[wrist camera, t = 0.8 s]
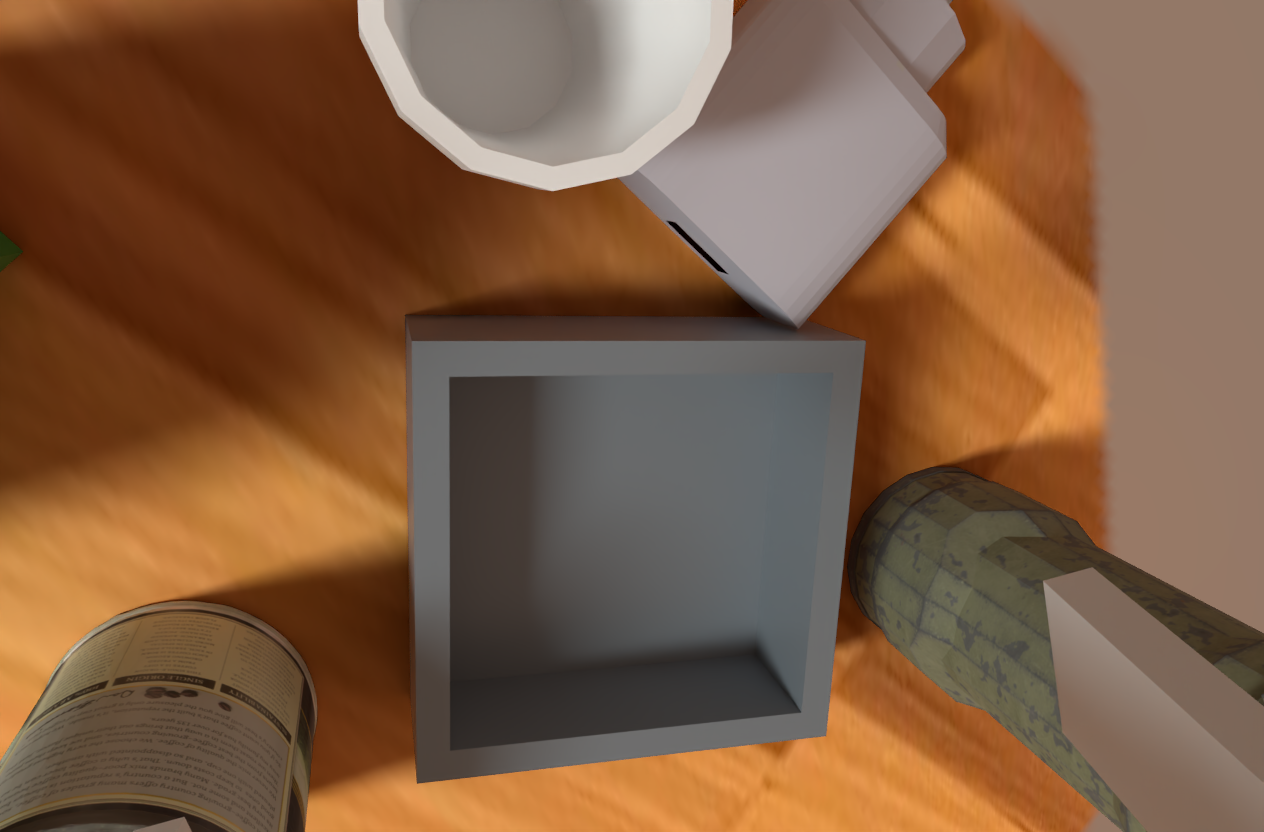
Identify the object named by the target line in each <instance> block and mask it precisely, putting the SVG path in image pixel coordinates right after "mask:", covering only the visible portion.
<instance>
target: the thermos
mask: <svg viewBox="0 0 1264 832" xmlns="http://www.w3.org/2000/svg"><path fill="white" fill-rule="evenodd" d="M1091 567H1093V568H1094V569H1095V570H1096V571H1098V572H1099V573H1100V574H1101V575H1102V576H1104V577H1105V578H1106V579H1107V580H1109V581H1110V582H1111V583H1112V584H1114V585H1115V586H1116V587H1117V588H1119V589H1120V590H1121V591H1122V592H1123V593H1125V594H1126V595H1127V596H1128V597H1130V598H1131V599H1132V600H1133V601H1135V602H1136V603H1137V604H1138V605H1139V606H1141V607H1142V608H1143V609H1144V610H1146V611H1147V612H1148V613H1149V614H1151V615H1152V616H1153V617H1154V618H1155V619H1157V620H1158V621H1159V622H1160V623H1162V624H1163V625H1164V626H1165V627H1167V628H1168V629H1169V630H1170V631H1171V632H1173V633H1174V634H1175V635H1176V636H1178V637H1179V638H1180V639H1181V640H1183V641H1184V642H1185V643H1186V644H1188V645H1189V646H1190V647H1191V648H1192V649H1194V650H1195V651H1196V652H1197V653H1199V654H1200V655H1201V656H1202V657H1204V658H1205V659H1206V660H1207V661H1208V662H1210V663H1211V664H1212V665H1213V666H1215V667H1216V668H1217V669H1218V670H1220V671H1221V672H1222V673H1223V674H1224V675H1226V676H1227V677H1228V678H1229V679H1231V680H1232V681H1233V682H1234V683H1236V684H1237V685H1238V686H1239V687H1241V688H1242V689H1243V690H1244V691H1245V692H1247V693H1248V694H1249V695H1250V696H1252V697H1253V698H1254V699H1255V700H1257V701H1258V702H1259V703H1260V704H1261V705H1263V706H1264V633H1262V632H1260V631H1258V630H1256V629H1254V628H1252V627H1250V626H1248V625H1246V624H1244V623H1243V622H1241V621H1239V620H1237V619H1235V618H1233V617H1231V616H1229V615H1227V614H1225V613H1223V612H1221V611H1220V610H1218V609H1216V608H1214V607H1212V606H1210V605H1208V604H1206V603H1204V602H1202V601H1200V600H1198V599H1196V598H1195V597H1193V596H1191V595H1189V594H1187V593H1185V592H1183V591H1181V590H1179V589H1177V588H1175V587H1173V586H1171V585H1169V584H1168V583H1165V582H1164V581H1162V580H1160V579H1158V578H1156V577H1154V576H1152V575H1150V574H1148V573H1146V572H1144V571H1143V570H1141V569H1139V568H1137V567H1135V566H1133V565H1131V564H1129V563H1127V562H1125V561H1123V560H1122V559H1120V558H1118V557H1116V556H1114V555H1112V554H1110V553H1108V552H1106V551H1104V550H1102V549H1100V548H1098V547H1097V546H1096V545H1095V544H1094V543H1093V542H1092V540H1091V539H1090V538H1089V536H1088V535H1087V534H1086V532H1085V531H1084V530H1083V528H1082V527H1081V526H1080V525H1079V523H1078V522H1077V521H1075V520H1073V519H1071V518H1069V517H1067V516H1065V515H1063V514H1061V513H1059V512H1057V511H1055V510H1053V509H1051V508H1049V507H1047V506H1045V505H1043V504H1041V503H1039V502H1037V501H1035V500H1033V499H1031V498H1029V497H1027V496H1025V495H1023V494H1021V493H1019V492H1017V491H1015V490H1013V489H1010V488H1008V487H1005V486H1003V485H1000V484H998V483H996V482H993V481H988V480H986V479H984V478H982V477H980V476H977V475H975V474H972V473H970V472H967V471H965V470H963V469H960V468H950V467H931V468H928V469H925V470H922V471H918V472H915V473H912V474H909V475H906V476H905V477H903V478H902V479H900V480H899V481H897V482H896V483H894V484H893V485H891V486H890V487H888V488H887V489H885V490H884V491H883V492H882V493H881V494H880V495H879V497H878V498H877V499H876V500H875V501H874V502H873V503H872V505H871V506H870V507H869V508H868V509H867V510H866V512H865V513H864V515H863V517H862V519H861V521H860V523H859V525H858V527H857V529H856V532H855V534H854V536H853V538H852V541H851V547H850V553H849V560H848V566H847V568H848V574H849V581H850V588H851V593H852V595H853V596H854V598H855V600H856V602H857V604H858V606H859V608H860V609H861V611H862V613H863V614H864V615H865V616H866V617H867V618H868V619H869V620H871V621H872V622H873V623H874V624H875V625H877V626H878V627H879V628H880V629H881V630H882V631H883V633H884V634H885V636H886V638H887V640H888V641H889V642H890V643H891V644H892V645H893V646H894V647H895V648H896V649H897V650H898V651H900V652H901V653H902V654H903V655H904V656H905V657H906V658H907V659H908V660H909V661H911V662H912V663H913V664H914V665H915V666H916V667H917V668H918V669H919V670H920V671H922V672H923V673H924V674H925V675H926V676H927V677H928V678H930V679H931V680H932V681H933V682H934V683H935V684H937V685H938V686H939V687H940V688H941V689H942V690H944V691H945V692H946V693H947V694H948V695H949V696H950V697H952V698H953V699H954V700H955V701H956V702H960V703H963V704H966V705H969V706H972V707H976V708H979V709H982V710H985V711H986V712H988V713H989V714H990V715H991V716H992V717H993V718H994V719H996V720H997V721H998V722H999V723H1000V724H1001V725H1002V726H1003V727H1005V728H1006V729H1007V730H1008V731H1009V732H1010V733H1011V734H1013V735H1014V736H1015V737H1016V738H1017V739H1018V740H1019V741H1021V742H1022V743H1023V744H1024V745H1025V746H1026V747H1027V748H1028V749H1030V750H1031V751H1032V752H1033V753H1034V754H1035V755H1036V756H1038V757H1039V758H1040V759H1041V760H1042V761H1043V762H1044V763H1046V764H1047V765H1048V766H1049V767H1050V768H1051V769H1052V770H1054V771H1055V772H1056V773H1057V774H1058V775H1059V776H1060V777H1061V778H1063V779H1064V780H1065V781H1066V782H1067V783H1068V784H1069V785H1071V786H1072V787H1073V788H1074V789H1075V790H1076V791H1077V792H1079V793H1080V794H1081V795H1082V796H1083V797H1084V798H1085V799H1086V800H1088V801H1089V802H1090V803H1091V804H1092V805H1093V806H1094V807H1096V808H1097V809H1098V810H1099V811H1100V812H1101V813H1102V814H1104V815H1105V816H1106V817H1107V818H1108V819H1109V820H1111V822H1113V823H1114V824H1115V825H1116V826H1117V827H1118V828H1119V829H1121V830H1122V831H1123V832H1147V831H1146V830H1145V828H1144V827H1143V826H1142V825H1141V824H1140V823H1139V821H1138V820H1137V819H1136V818H1135V817H1134V816H1133V814H1132V813H1131V812H1130V811H1129V810H1128V809H1127V807H1126V806H1125V805H1124V804H1123V803H1122V802H1121V800H1120V799H1119V798H1118V797H1117V796H1116V794H1115V793H1114V792H1113V791H1112V790H1111V789H1110V787H1109V786H1108V785H1107V784H1106V783H1105V782H1104V780H1103V779H1102V778H1101V777H1100V776H1099V775H1098V773H1097V772H1096V771H1095V770H1094V769H1093V768H1092V766H1091V765H1090V764H1089V763H1088V762H1087V761H1086V759H1085V758H1084V757H1083V756H1082V755H1081V753H1080V752H1079V751H1078V750H1077V749H1076V748H1075V746H1074V745H1073V744H1072V743H1071V742H1070V741H1069V739H1068V738H1067V737H1066V736H1065V735H1064V734H1063V732H1062V724H1061V716H1060V709H1059V701H1058V693H1057V685H1056V678H1055V670H1054V662H1053V655H1052V647H1051V639H1050V631H1049V624H1048V616H1047V608H1046V600H1045V593H1044V585H1043V581H1044V580H1048V579H1051V578H1055V577H1059V576H1062V575H1066V574H1070V573H1073V572H1077V571H1081V570H1084V569H1088V568H1091Z"/></svg>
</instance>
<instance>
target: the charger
mask: <svg viewBox="0 0 1264 832" xmlns="http://www.w3.org/2000/svg"><path fill="white" fill-rule="evenodd" d="M952 1H953V0H748V1H747V2H746V3H745V4H744V5H743V6H742V8H741V9H740V10H739V11H738V12H737V13H736V15H735V16H734V17H733V21H732V41H731V50H730V52H729V54H728V56H727V58H726V60H725V62H724V64H723V66H722V68H721V70H720V72H719V74H718V76H717V79H716V81H715V83H714V85H713V87H712V89H711V91H710V93H709V95H708V97H707V99H706V101H705V103H704V105H703V107H702V109H701V111H700V113H699V115H698V117H697V119H696V121H695V123H694V125H692V126H691V127H690V128H689V129H688V130H686V131H685V132H684V133H683V134H681V135H680V136H679V137H678V138H676V139H675V140H674V141H673V142H671V143H670V144H669V145H668V146H666V147H665V148H664V149H663V150H661V151H660V152H659V153H658V154H656V155H655V156H654V157H653V158H651V159H650V160H649V161H648V162H646V163H645V164H644V165H643V166H641V167H640V168H639V169H638V170H636V171H635V172H634V173H633V174H631V175H627V176H622V177H617V178H618V179H619V180H620V181H622V182H623V183H624V184H625V185H626V186H627V187H628V188H629V189H630V190H631V191H632V192H633V193H634V194H635V195H636V196H637V197H638V198H639V199H640V200H641V201H642V202H643V203H644V204H645V205H646V206H647V207H648V208H649V209H650V210H651V211H652V212H653V213H654V214H655V215H656V216H657V217H659V218H660V219H661V220H662V221H663V222H664V223H665V224H666V225H667V226H668V227H669V228H670V229H671V230H672V231H673V232H674V233H675V234H676V235H677V236H678V237H679V238H680V239H681V240H682V241H683V242H684V243H685V244H686V245H687V246H689V247H690V248H691V249H692V250H693V251H694V252H695V253H696V254H697V255H698V256H699V257H700V258H701V259H702V260H703V261H704V262H705V263H706V264H707V265H708V266H709V267H710V268H711V269H712V270H713V271H714V272H715V273H716V274H717V275H719V276H720V277H721V278H722V279H723V280H724V281H725V282H726V283H727V284H728V285H729V286H730V287H731V288H732V289H733V290H734V291H735V292H736V293H737V294H738V295H739V296H740V297H741V298H743V299H744V300H745V301H746V302H747V303H748V304H749V305H750V306H751V307H752V308H753V309H755V310H756V311H757V312H758V313H760V314H761V315H762V316H764V317H765V318H767V319H770V320H773V321H775V322H778V323H781V324H783V325H786V326H789V327H791V328H794V329H796V330H797V329H799V328H800V327H801V325H802V324H803V323H804V322H805V321H806V320H807V319H808V317H809V316H810V315H811V314H812V313H813V312H814V310H815V309H816V308H817V307H818V306H819V305H820V304H821V302H822V301H823V300H824V299H825V298H826V297H827V295H828V294H829V293H830V292H831V291H832V290H833V288H834V287H835V286H836V285H837V284H838V283H839V282H840V280H841V279H842V278H843V277H844V276H845V275H846V273H847V272H848V271H849V270H850V269H851V268H852V266H853V265H854V264H855V263H856V262H857V261H858V260H859V258H860V257H861V256H862V255H863V254H864V253H865V251H866V250H867V249H868V248H869V247H870V246H871V245H872V243H873V242H874V241H875V240H876V239H877V238H878V236H879V235H880V234H881V233H882V232H883V231H884V229H885V228H886V227H887V226H888V225H889V224H890V223H891V221H892V220H893V219H894V218H895V217H896V216H897V214H898V213H899V212H900V211H901V210H902V209H903V208H904V206H905V205H906V204H907V203H908V202H909V201H910V199H911V198H912V197H913V196H914V195H915V194H916V192H917V191H918V190H919V189H920V188H921V187H922V186H923V184H924V183H925V182H926V181H927V180H928V179H929V177H930V176H931V175H932V174H933V173H934V172H935V170H936V169H937V168H938V167H939V166H940V165H941V164H942V162H943V161H944V160H945V159H946V158H947V154H946V119H945V116H944V115H943V113H942V112H941V111H940V109H939V108H938V107H937V105H936V104H935V103H934V102H933V101H932V99H931V98H930V97H929V96H928V95H927V92H928V91H929V90H930V88H931V87H932V86H933V85H934V84H935V83H936V82H937V80H938V79H939V78H940V77H941V76H942V75H943V73H944V72H945V71H946V70H947V69H948V68H949V66H950V65H951V64H952V63H953V62H954V61H955V59H956V58H957V57H958V56H959V55H960V54H961V53H962V51H963V50H964V49H965V42H966V41H965V38H964V35H963V33H962V30H961V27H960V25H959V22H958V19H957V17H956V14H955V12H954V11H953V10H952V8H951V7H950V6H949V4H950V3H951V2H952ZM667 221H672V222H676V223H677V224H678V225H679V226H680V227H681V228H682V229H683V230H684V231H685V232H686V233H687V234H688V235H689V236H690V237H691V238H692V239H693V240H694V241H695V242H696V243H697V244H698V245H699V246H700V247H701V248H702V249H703V250H704V251H705V252H706V253H707V254H709V255H710V256H711V257H712V258H713V259H714V260H715V261H716V262H717V263H718V264H719V265H720V266H721V267H722V268H723V269H724V270H725V271H726V272H727V273H728V274H725V273H722V272H719V271H717V270H716V269H715V268H714V267H713V266H712V265H711V264H710V263H709V262H708V261H707V260H706V259H705V258H704V257H703V256H702V255H701V254H700V253H699V252H698V251H697V250H695V249H694V248H693V247H692V246H691V245H690V244H689V243H688V242H687V241H686V240H685V239H684V238H683V237H682V236H681V235H680V234H679V233H678V232H677V231H676V230H675V229H674V228H673V227H672V226H671V225H670V224H669V223H668V222H667Z"/></svg>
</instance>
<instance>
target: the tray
mask: <svg viewBox="0 0 1264 832" xmlns="http://www.w3.org/2000/svg"><path fill="white" fill-rule="evenodd" d="M405 334H406V409H407V484H408V560H409V635H410V701H411V714H412V726H413V739H414V752H415V764H416V777H417V784H418V783H426V782H435V781H443V780H452V779H460V778H469V777H478V776H486V775H495V774H503V773H512V772H521V771H529V770H538V769H546V768H555V767H564V766H572V765H581V764H589V763H598V762H607V761H615V760H624V759H632V758H641V757H650V756H658V755H667V754H675V753H684V752H693V751H701V750H710V749H718V748H727V747H735V746H744V745H753V744H761V743H770V742H778V741H787V740H796V739H804V738H813V737H821V736H826V731H827V721H828V711H829V701H830V691H831V682H832V672H833V662H834V652H835V642H836V632H837V622H838V612H839V602H840V593H841V583H842V573H843V563H844V553H845V543H846V533H847V523H848V514H849V504H850V494H851V484H852V474H853V464H854V454H855V444H856V434H857V425H858V415H859V405H860V395H861V385H862V375H863V365H864V355H865V346H866V341H865V340H862V339H859V338H857V337H854V336H851V335H848V334H845V333H842V332H839V331H836V330H834V329H831V328H828V327H825V326H822V325H819V324H816V323H813V322H811V321H808V320H806V321H805V322H804V323H803V324H802V325H801V327H800V328H799V329H797V330H796V329H794V328H791V327H789V326H786V325H783V324H781V323H778V322H775V321H773V320H770V319H767V318H765V317H671V316H502V315H405Z"/></svg>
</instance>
